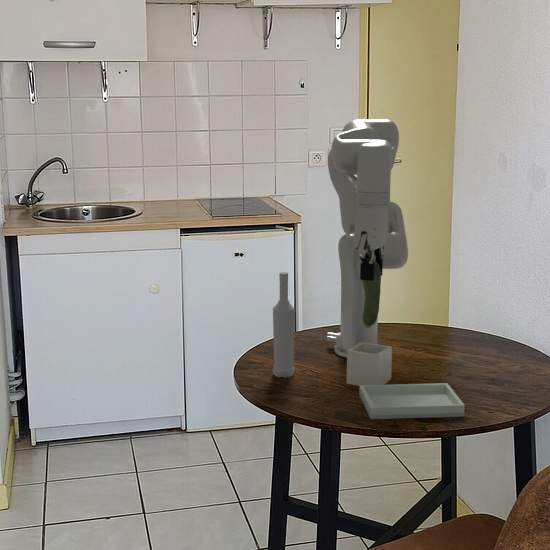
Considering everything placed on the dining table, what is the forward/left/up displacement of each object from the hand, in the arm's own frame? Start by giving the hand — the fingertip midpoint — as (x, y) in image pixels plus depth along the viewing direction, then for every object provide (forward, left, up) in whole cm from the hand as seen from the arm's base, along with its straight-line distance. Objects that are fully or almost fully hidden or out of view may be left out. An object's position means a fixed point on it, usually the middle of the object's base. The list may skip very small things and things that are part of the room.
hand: (371, 277), depth 209 cm
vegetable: (0, 0, -13) cm, 13 cm away
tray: (+14, -11, -25) cm, 31 cm away
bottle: (-20, -5, -25) cm, 33 cm away
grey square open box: (0, 0, -25) cm, 25 cm away
